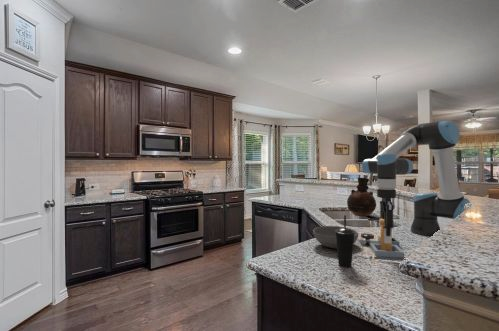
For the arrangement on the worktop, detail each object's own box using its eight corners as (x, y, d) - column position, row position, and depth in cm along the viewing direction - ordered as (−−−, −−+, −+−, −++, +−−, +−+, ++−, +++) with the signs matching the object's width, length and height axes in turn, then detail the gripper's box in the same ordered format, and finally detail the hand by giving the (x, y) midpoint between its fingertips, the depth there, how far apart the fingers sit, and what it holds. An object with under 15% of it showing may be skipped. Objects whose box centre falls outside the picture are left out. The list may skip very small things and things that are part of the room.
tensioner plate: (396, 244, 140) (396, 233, 140) (403, 252, 128) (403, 240, 128) (357, 242, 144) (358, 231, 144) (361, 249, 132) (361, 237, 132)
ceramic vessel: (346, 217, 214) (346, 177, 213) (347, 213, 230) (347, 176, 230) (376, 218, 206) (376, 178, 206) (375, 214, 222) (375, 177, 222)
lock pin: (391, 249, 126) (391, 218, 125) (394, 253, 120) (394, 221, 120) (377, 248, 127) (377, 218, 127) (380, 252, 121) (380, 220, 121)
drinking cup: (354, 263, 114) (354, 214, 114) (355, 269, 107) (355, 217, 107) (335, 261, 117) (335, 213, 117) (334, 267, 110) (334, 216, 110)
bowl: (359, 244, 142) (359, 228, 142) (356, 256, 123) (356, 238, 123) (317, 239, 151) (317, 224, 151) (308, 250, 132) (308, 233, 132)
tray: (396, 252, 128) (396, 244, 128) (404, 261, 117) (404, 252, 117) (370, 251, 130) (370, 243, 130) (375, 259, 119) (375, 250, 119)
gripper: (373, 186, 133) (373, 236, 133) (381, 190, 116) (381, 246, 116) (390, 187, 131) (390, 237, 131) (401, 190, 114) (401, 247, 114)
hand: (386, 241), depth 123 cm, fingers closed on lock pin, 4 cm apart
